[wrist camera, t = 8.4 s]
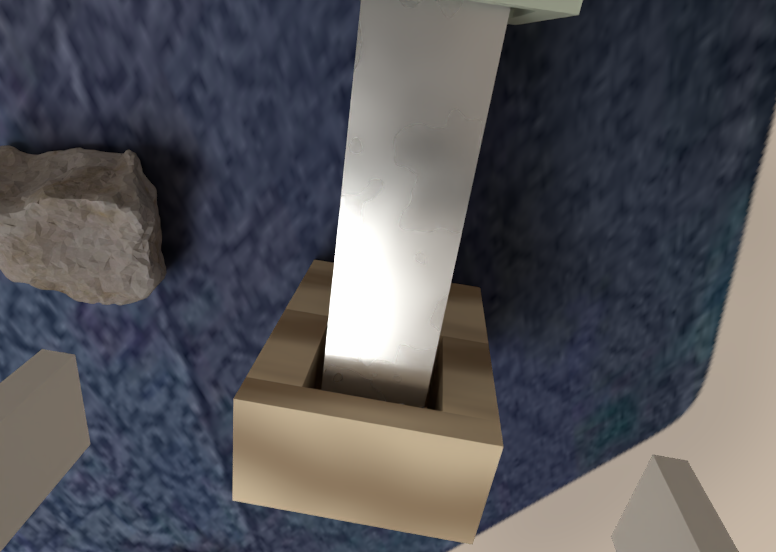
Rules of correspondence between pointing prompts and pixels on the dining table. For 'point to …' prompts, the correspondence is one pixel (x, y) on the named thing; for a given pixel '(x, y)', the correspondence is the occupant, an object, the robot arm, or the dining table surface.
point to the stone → (80, 224)
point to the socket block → (369, 427)
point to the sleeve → (537, 9)
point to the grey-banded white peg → (406, 188)
